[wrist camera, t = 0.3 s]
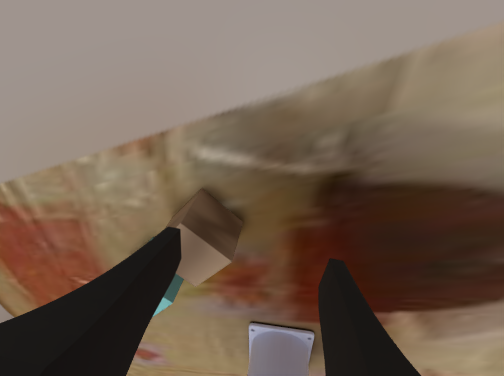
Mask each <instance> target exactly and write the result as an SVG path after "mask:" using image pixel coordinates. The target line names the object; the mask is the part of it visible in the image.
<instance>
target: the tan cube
mask: <svg viewBox="0 0 504 376" xmlns="http://www.w3.org/2000/svg"><path fill="white" fill-rule="evenodd" d="M242 224H243V222H242V221H241V220H240V219H239V218H237V217H236V216H235V215H234V214H233V213H231V212H230V211H229V210H228V209H227V208H225V207H224V206H223V205H222V204H220V203H219V202H218V201H217V200H216V199H214V198H213V197H212V196H211V195H209V194H208V193H207V192H206V191H205V190H203V189H201V190H200V191H199V192H198V193H197V194H196V195H195V196H194V197H193V198H192V199H191V200H190V201H189V202H188V203H187V204H186V205H185V206H184V207H183V208H182V209H181V210H179V211H178V212H177V213H176V214H175V215H174V216H173V217H172V219H171V220H170V222H169V223H168V225H167V226H166V228H167V227H168V226H169V227H174V228H179V229H180V230H181V256H182V259H181V261H180V264H179V266H178V269H177V271H176V274H177V275H179V276H180V277H182V278H183V279H185V280H186V281H188V282H189V283H190V284H192V285H193V286H195V287H196V286H198V285H199V284H200V283H202V282H203V281H205V280H206V279H208V278H209V277H211V276H212V275H213V274H215V273H216V272H218V271H219V270H221V269H222V268H224V267H225V266H226V265H228V264H229V263H231V262H232V260H233V256H234V252H235V249H236V245H237V242H238V238H239V235H240V231H241V228H242Z"/></svg>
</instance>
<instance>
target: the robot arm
mask: <svg viewBox="0 0 504 376" xmlns="http://www.w3.org/2000/svg"><path fill="white" fill-rule="evenodd" d="M181 259H182V256H181V230H180V229H179V228H174V227H169V226H168V227H167V228H165V229H164V230H163V231H162V232H160V233H159V234H158V235H157V236H155V237H154V238H153V239H152V240H150V241H149V242H148V243H147V244H145V245H144V246H143V247H141V248H140V249H139V250H137V251H136V252H135V253H133V254H132V255H131V256H129V257H128V258H126V259H125V260H123V261H122V262H121V263H119V264H118V265H116V266H115V267H113V268H112V269H110V270H109V271H107V272H106V273H104V274H102V275H101V276H99V277H97V278H96V279H94V280H92V281H91V282H89V283H87V284H85V285H83V286H82V287H80V288H78V289H76V290H74V291H72V292H70V293H68V294H66V295H64V296H62V297H60V298H58V299H56V300H54V301H52V302H50V303H48V304H46V305H43V306H41V307H39V308H37V309H34V310H32V311H30V312H27V313H25V314H23V315H20V316H18V317H15V318H13V319H10V320H7V321H5V322H2V323H0V376H126V374H127V372H128V370H129V367H130V365H131V362H132V360H133V358H134V355H135V353H136V351H137V348H138V346H139V344H140V341H141V339H142V337H143V335H144V332H145V330H146V328H147V326H148V324H149V322H150V320H151V318H152V317H153V315H154V313H155V311H156V309H157V308H158V306H159V304H160V302H161V300H162V299H163V297H164V295H165V293H166V291H167V289H168V288H169V286H170V284H171V282H172V280H173V278H174V276H175V274H176V271H177V269H178V266H179V264H180V261H181ZM319 317H320V325H321V334H322V342H323V350H324V359H325V371H326V376H421V375H420V374H419V372H418V371H417V370H416V369H415V368H414V367H413V366H412V364H411V363H410V362H409V361H408V360H407V358H406V357H405V356H404V355H403V353H402V352H401V351H400V350H399V348H398V347H397V346H396V344H395V343H394V342H393V340H392V339H391V338H390V336H389V335H388V334H387V332H386V331H385V329H384V328H383V326H382V325H381V323H380V322H379V320H378V319H377V317H376V316H375V314H374V313H373V311H372V310H371V308H370V307H369V305H368V303H367V302H366V300H365V298H364V297H363V295H362V293H361V292H360V290H359V288H358V286H357V285H356V283H355V281H354V279H353V278H352V276H351V274H350V272H349V270H348V268H347V267H346V265H345V263H344V261H341V260H336V259H331V258H330V259H329V262H328V264H327V267H326V269H325V272H324V274H323V277H322V279H321V282H320V284H319ZM313 341H314V333H313V332H311V331H305V330H298V329H291V328H284V327H278V326H271V325H264V324H257V323H250V324H249V367H248V374H247V376H309V370H308V363H309V359H310V354H311V350H312V345H313Z"/></svg>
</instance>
